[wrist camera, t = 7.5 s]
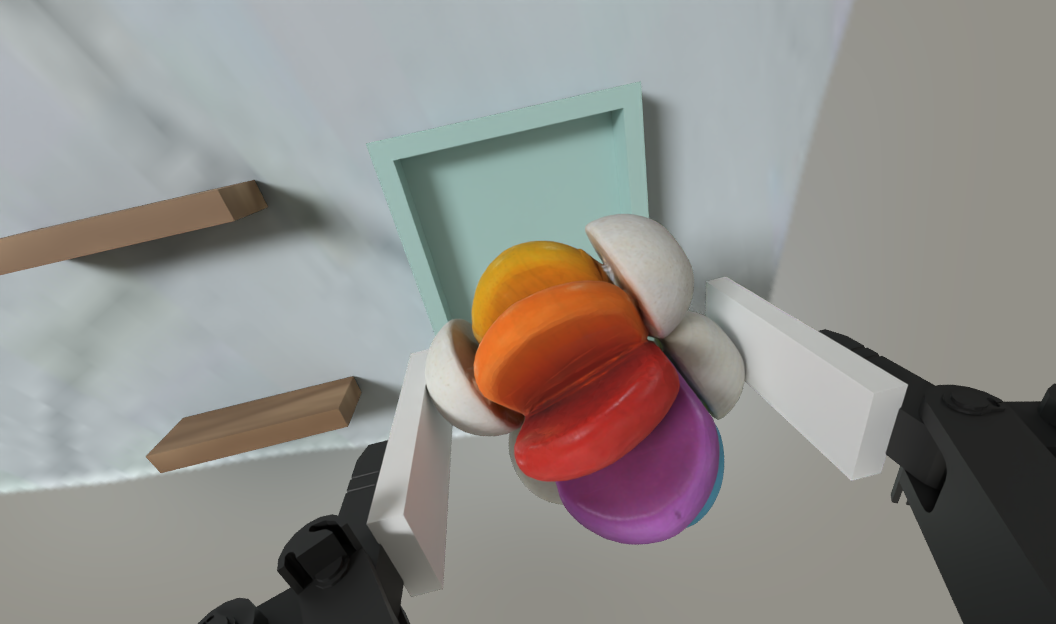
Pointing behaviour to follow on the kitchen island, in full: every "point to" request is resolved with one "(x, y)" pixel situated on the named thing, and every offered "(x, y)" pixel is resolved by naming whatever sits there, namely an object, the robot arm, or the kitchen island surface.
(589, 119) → the tray
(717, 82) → the kitchen island surface
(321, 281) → the kitchen island surface
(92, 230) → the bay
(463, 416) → the rainbow disc toy
